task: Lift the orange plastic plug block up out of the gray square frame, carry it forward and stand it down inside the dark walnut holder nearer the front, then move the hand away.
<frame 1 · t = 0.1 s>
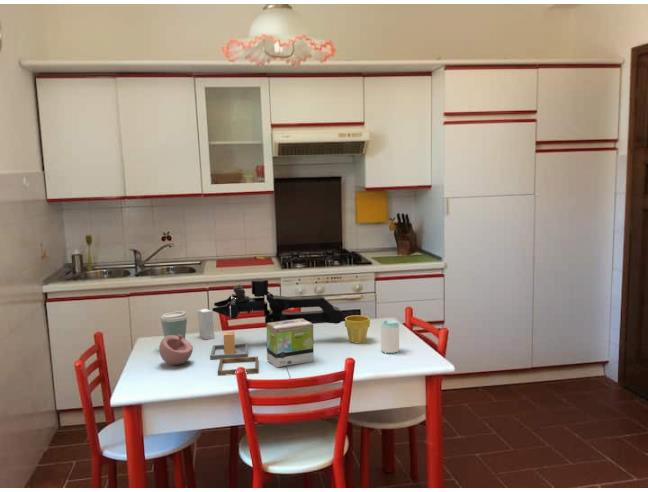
hand: (213, 306, 234), 17 cm above the table, tool horizontal, fingers open, 9 cm apart
mortar and pestle: (176, 364, 215), on the table
can: (390, 351, 225), on the table
plug block: (229, 343, 227), in the gray square frame
gray square frame: (229, 353, 227), on the table
plant pot: (357, 341, 240), on the table
disposable coffee cup: (175, 349, 234), on the table
tea box: (290, 361, 216), on the table
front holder: (238, 367, 210), on the table
skincare box: (206, 338, 250), on the table
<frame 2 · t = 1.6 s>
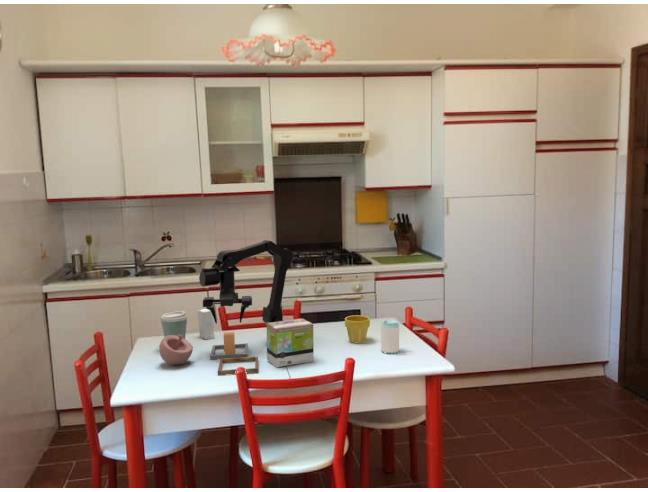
hand: (228, 323, 226), 12 cm above the table, tool pointing down, fingers open, 9 cm apart
nothing on the table moved.
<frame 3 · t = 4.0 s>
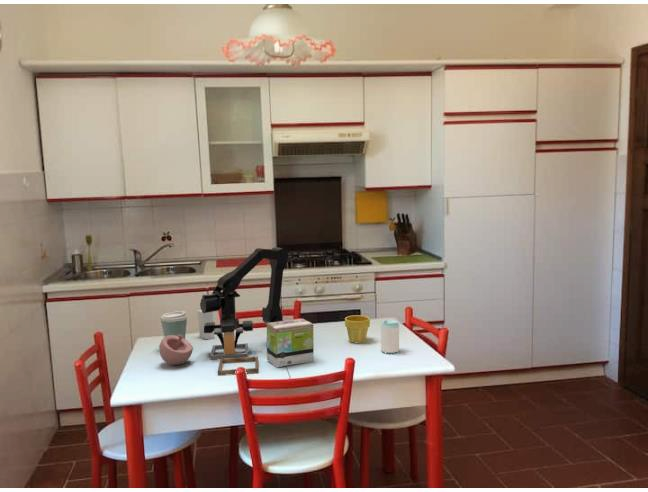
hand: (229, 348, 227), 2 cm above the table, tool pointing down, fingers closed on plug block, 4 cm apart
plug block: (229, 343, 227), in the gray square frame, touching gripper
everything else where it was.
when the fingers open (3 cm above the table, at t = 10.7 s): plug block stays where it is, resting in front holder.
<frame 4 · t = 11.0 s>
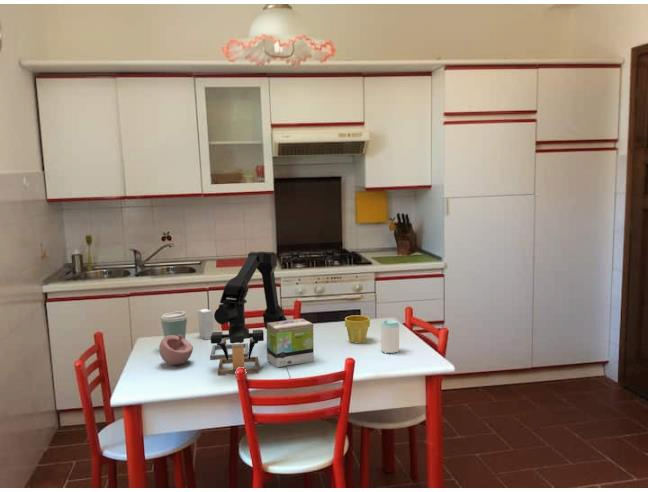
hand: (238, 359, 209), 3 cm above the table, tool pointing down, fingers open, 7 cm apart
plug block: (238, 357, 209), in the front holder
everything else where it was.
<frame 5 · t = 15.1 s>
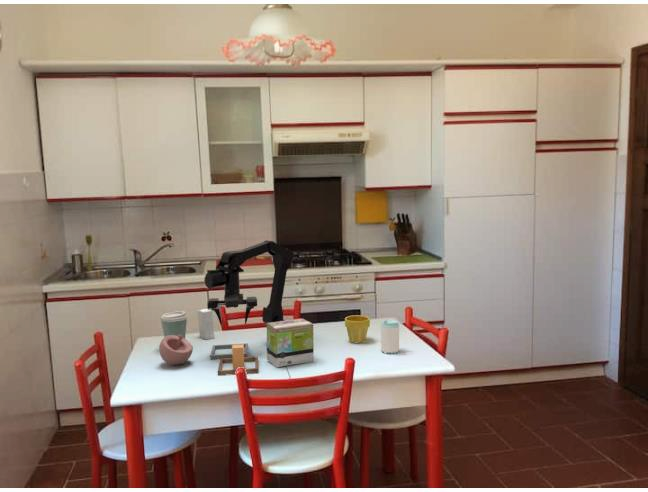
hand: (233, 324, 224), 12 cm above the table, tool pointing down, fingers open, 9 cm apart
nothing on the table moved.
at the end: plug block inside the target area on the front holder (0.0 cm from its centre), point 4.0 cm above the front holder's base; plug block tilted 0°; the gripper is holding nothing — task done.
